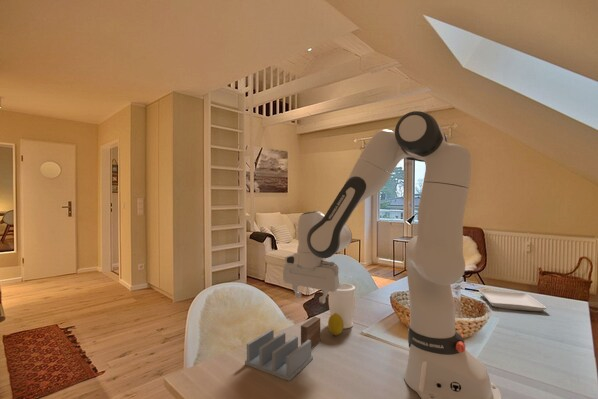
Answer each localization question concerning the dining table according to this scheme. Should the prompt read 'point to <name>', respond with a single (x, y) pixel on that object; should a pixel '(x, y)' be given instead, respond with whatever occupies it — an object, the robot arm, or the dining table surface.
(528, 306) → the salad plate
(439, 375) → the robot arm
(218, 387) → the dining table surface
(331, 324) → the lemon
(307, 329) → the board
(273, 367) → the rack
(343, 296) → the jar
